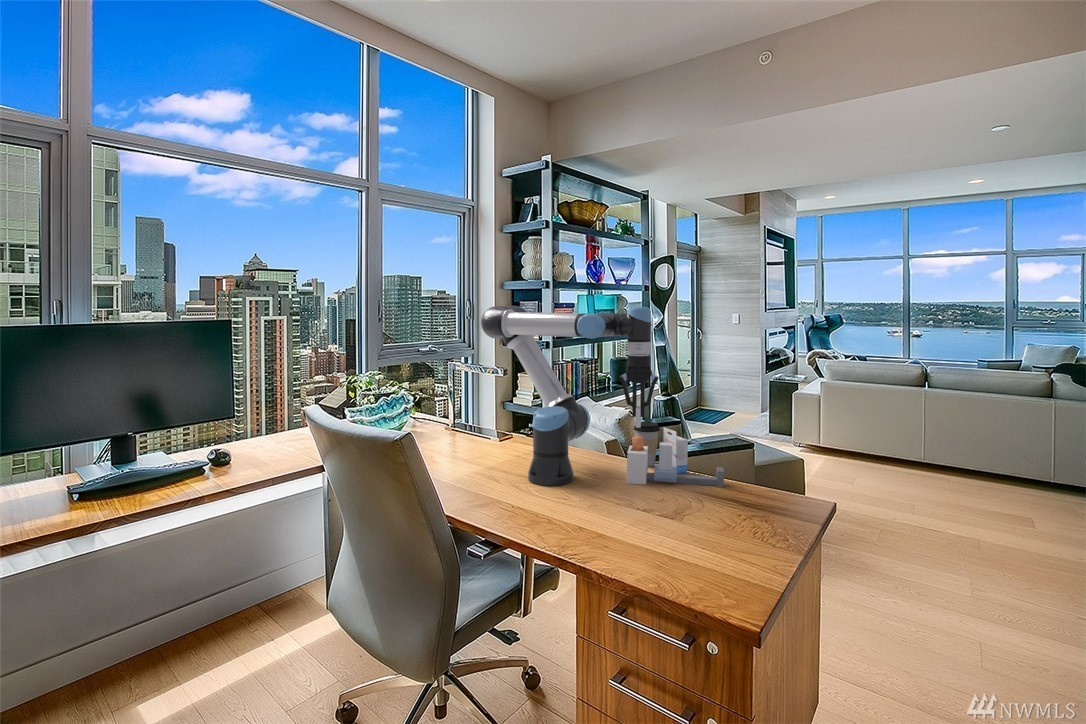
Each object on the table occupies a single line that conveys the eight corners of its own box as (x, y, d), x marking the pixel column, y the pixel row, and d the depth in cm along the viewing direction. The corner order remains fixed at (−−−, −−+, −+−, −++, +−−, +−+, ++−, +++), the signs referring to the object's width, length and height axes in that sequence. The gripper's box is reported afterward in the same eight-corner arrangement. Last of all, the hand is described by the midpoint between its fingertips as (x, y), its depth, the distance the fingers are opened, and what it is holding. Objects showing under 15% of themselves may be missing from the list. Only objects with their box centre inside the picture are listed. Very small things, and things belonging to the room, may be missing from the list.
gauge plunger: (631, 450, 176) (631, 438, 176) (632, 447, 180) (632, 435, 179) (643, 451, 175) (643, 438, 175) (643, 448, 179) (643, 436, 179)
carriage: (653, 482, 173) (654, 446, 172) (654, 474, 182) (655, 440, 181) (676, 483, 171) (677, 448, 170) (676, 475, 180) (676, 441, 179)
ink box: (688, 473, 185) (688, 430, 184) (675, 474, 184) (676, 431, 182) (673, 466, 193) (674, 425, 192) (661, 467, 191) (662, 426, 190)
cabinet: (627, 483, 174) (627, 452, 174) (629, 474, 184) (629, 445, 183) (645, 484, 173) (646, 453, 172) (647, 475, 183) (647, 446, 182)
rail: (646, 482, 175) (646, 467, 175) (647, 477, 180) (647, 462, 180) (723, 487, 170) (724, 471, 169) (722, 482, 175) (722, 467, 174)
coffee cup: (658, 461, 200) (658, 421, 198) (661, 468, 190) (661, 426, 189) (632, 460, 201) (632, 421, 199) (633, 468, 191) (634, 426, 190)
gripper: (617, 355, 173) (617, 428, 175) (659, 356, 170) (658, 430, 172) (619, 353, 180) (619, 423, 182) (659, 354, 177) (658, 425, 179)
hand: (638, 426), depth 177 cm, fingers closed
